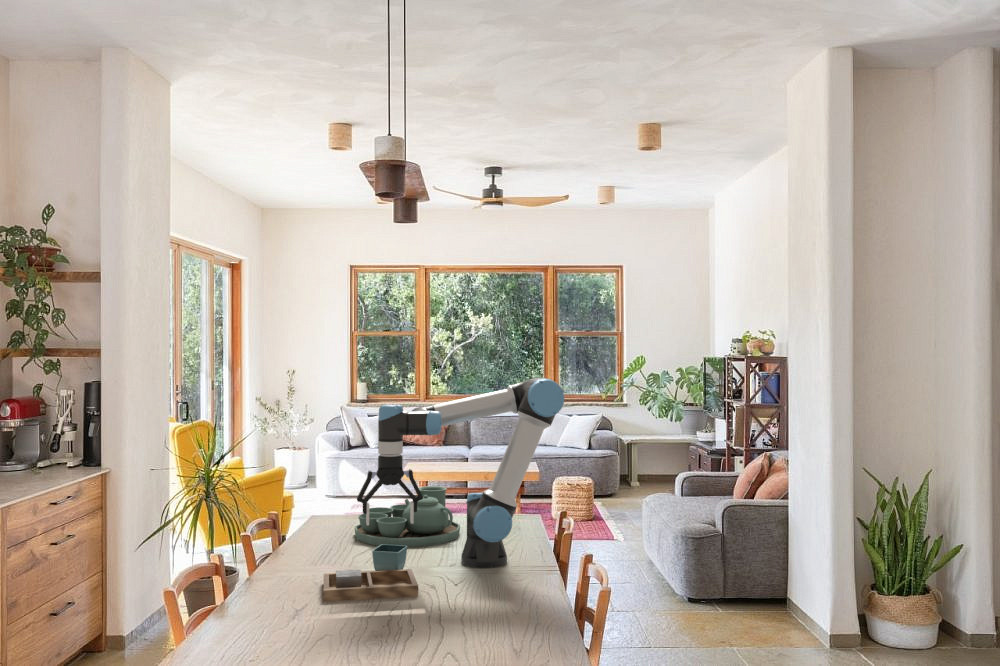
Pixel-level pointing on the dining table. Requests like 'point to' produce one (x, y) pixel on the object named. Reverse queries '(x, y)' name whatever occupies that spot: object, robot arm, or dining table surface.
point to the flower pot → (389, 557)
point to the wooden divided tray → (373, 586)
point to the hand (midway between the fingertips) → (389, 523)
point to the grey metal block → (348, 578)
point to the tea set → (399, 530)
